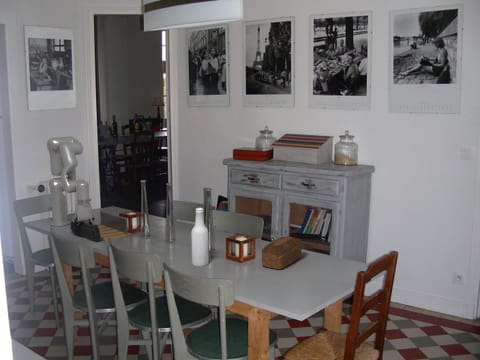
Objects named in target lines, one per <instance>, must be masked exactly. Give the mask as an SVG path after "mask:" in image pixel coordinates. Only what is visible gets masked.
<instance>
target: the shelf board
mask: <svg viewBox="0 0 480 360" xmlns="http://www.w3.org/2000/svg"><path fill="white" fill-rule="evenodd" d="M95 225H97V226H98V228H99V231H100V236H101V240H100V241H104V242H108V237H110V238H111V240H110V241H114V240H118V239H122V238H126V237H131V232H128V233H124V232H121V231H119V230H116V229H113V228H110V227H107V226H104V225H101V222H100V223H96V224H95Z"/></svg>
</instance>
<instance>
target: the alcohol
mask: <svg viewBox="0 0 480 360" xmlns="http://www.w3.org/2000/svg"><path fill="white" fill-rule="evenodd" d="M194 223H195V224H194V226H193V228H192V229H191V233H190V235H191V264H192V265H193V266H195V267H204V266H207V265H209V258H210V257H209V231H208V228H207V226H206V225H205V219H204V208H203V207H197V208H195V221H194Z"/></svg>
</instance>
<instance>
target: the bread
mask: <svg viewBox="0 0 480 360" xmlns="http://www.w3.org/2000/svg"><path fill="white" fill-rule="evenodd" d="M302 248H303V241H302V239H300V238H297V237H294V236H281V237H279V238H276V239H274V240H272V241H270V242H269V243H268V244H266V245H265V246H264V247H263V248H262V249H261V265H262V266H263V267H265V268H268V269H273V270H281V269H284V268H285V267H287V266H289V265H291V264H292V263H294V262H295V261H297V260H299V259H300V257H301V256H302Z"/></svg>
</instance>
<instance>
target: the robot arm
mask: <svg viewBox="0 0 480 360" xmlns="http://www.w3.org/2000/svg"><path fill="white" fill-rule="evenodd" d="M46 147H47V150H48V153H49V159H50V162H49V163H50V173H51V175H52V176H53V178H51V179H50V180H49V182H48V187H49V192H50V198H51V212H52V213H51V214H52V217H51V219H52V221H51V222H50V226H51V227H52V226H53V227H63V226H68V225H71V222H72V221H73V222H74V223H75V224H76V227H77V231H79V232H80V231H81V228H80V225H79V224H80V222H81V221H82V222H84V221H88V224H91V225H94V224H93V223H94V221H95V219H96V217H97V214H95V213H94V212H93V208H92V204H91V201H92V198H90V184H89V182H88V181H86V180H85V179H83V178H82V179H81V178H79V179H77V172H76V171H77V167H78V165H79V163H78V162H79V161H78V159H77V156H80V155H83V153H84V147H83V145H82V143H81V141H79V140H78V139H77V138H76V137H74V136H57V137H55V136H54V137H51V138H48V140H47V142H46ZM59 176H60V177H59ZM64 192H65V193H67V194H71V193H73V194H74V193H76V195H75V196H76V204H75V207H74V216H73V217H72V218H71V221H70V220H68V204H67V203H68V202H67V197H66V195H65V194H64ZM75 220H77V221H75Z"/></svg>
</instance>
